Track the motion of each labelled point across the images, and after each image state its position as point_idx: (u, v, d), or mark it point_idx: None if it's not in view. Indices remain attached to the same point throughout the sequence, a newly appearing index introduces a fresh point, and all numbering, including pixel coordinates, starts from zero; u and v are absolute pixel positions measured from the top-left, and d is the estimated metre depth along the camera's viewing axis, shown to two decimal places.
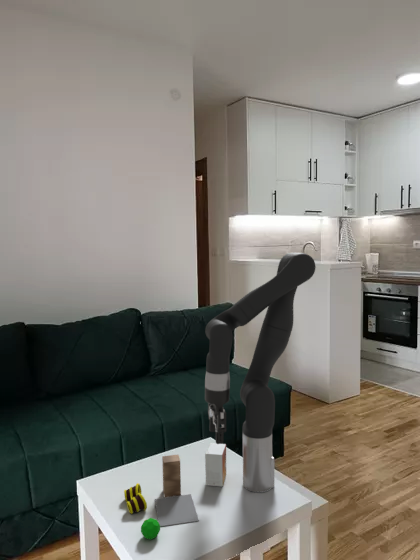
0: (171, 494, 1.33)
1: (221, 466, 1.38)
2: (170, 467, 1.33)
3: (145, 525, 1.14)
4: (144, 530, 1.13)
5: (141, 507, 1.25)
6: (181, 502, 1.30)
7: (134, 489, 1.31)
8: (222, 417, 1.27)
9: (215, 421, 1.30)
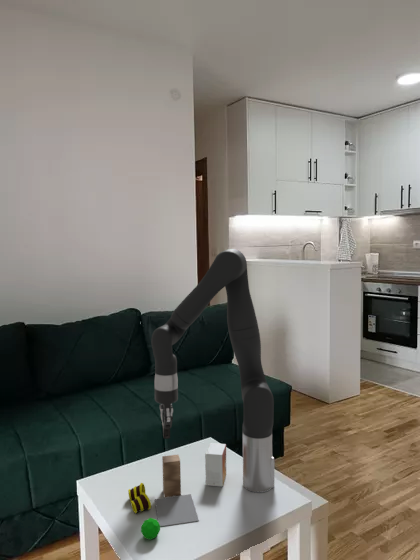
0: (171, 494, 1.33)
1: (221, 466, 1.38)
2: (170, 467, 1.33)
3: (145, 525, 1.14)
4: (144, 530, 1.13)
5: (145, 506, 1.26)
6: (181, 502, 1.30)
7: (138, 488, 1.31)
8: (168, 421, 1.38)
9: (163, 420, 1.41)
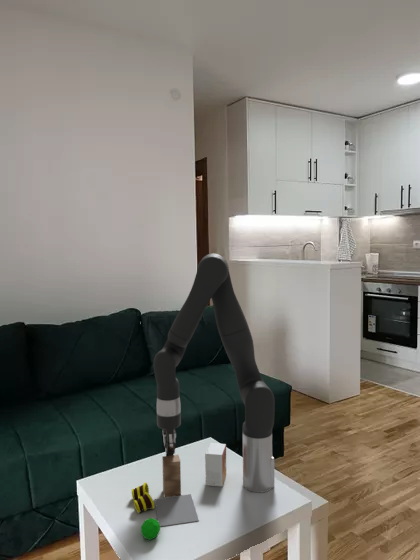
0: (171, 494, 1.33)
1: (221, 466, 1.38)
2: (170, 467, 1.32)
3: (145, 526, 1.14)
4: (144, 530, 1.13)
5: (148, 506, 1.26)
6: (181, 502, 1.30)
7: (141, 488, 1.31)
8: (171, 448, 1.33)
9: (166, 446, 1.37)
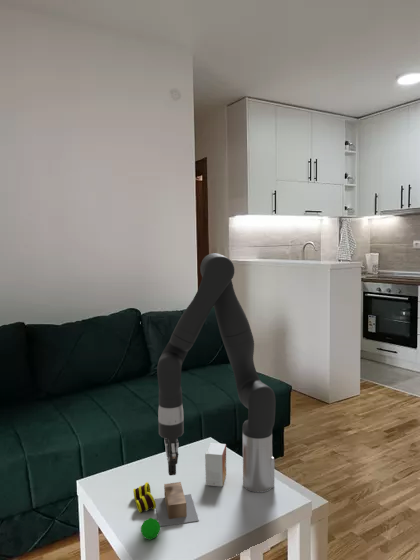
0: None
1: (221, 466, 1.38)
2: None
3: (145, 525, 1.14)
4: (144, 530, 1.13)
5: (150, 506, 1.26)
6: None
7: (143, 488, 1.31)
8: (174, 458, 1.27)
9: (168, 455, 1.31)
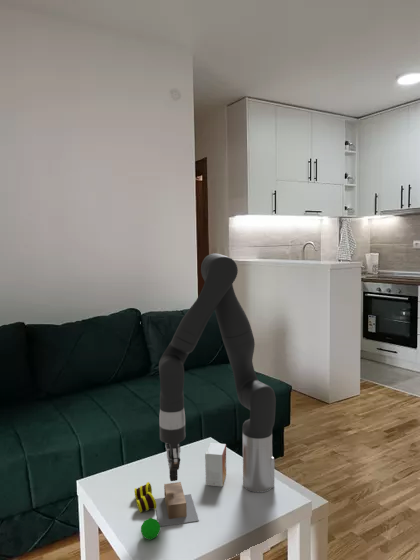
0: None
1: (221, 466, 1.38)
2: None
3: (145, 526, 1.14)
4: (144, 530, 1.13)
5: (150, 506, 1.26)
6: None
7: (144, 488, 1.31)
8: (175, 463, 1.24)
9: (169, 461, 1.28)
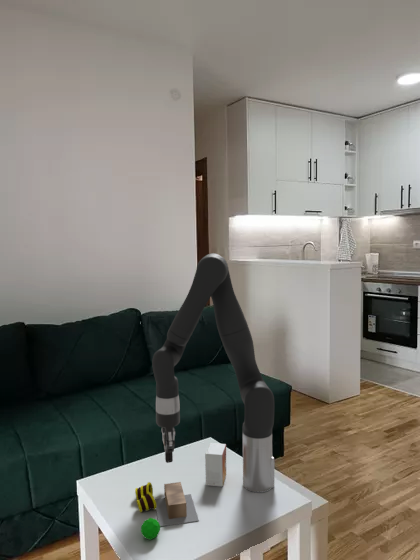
0: None
1: (221, 466, 1.38)
2: None
3: (145, 525, 1.14)
4: (144, 530, 1.13)
5: (150, 506, 1.26)
6: None
7: (145, 488, 1.31)
8: (170, 445, 1.34)
9: (165, 444, 1.38)
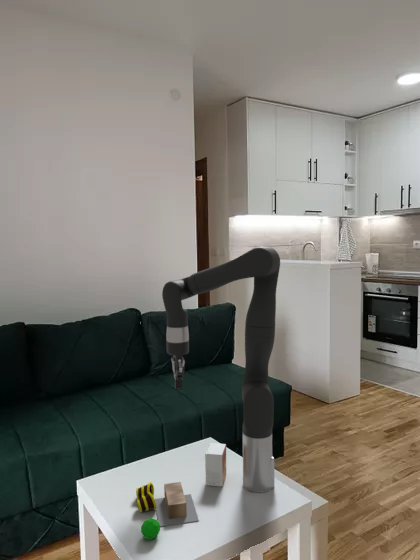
0: None
1: (221, 466, 1.38)
2: None
3: (145, 526, 1.14)
4: (144, 530, 1.13)
5: (150, 506, 1.26)
6: None
7: (146, 488, 1.31)
8: (180, 371, 1.43)
9: (175, 371, 1.47)
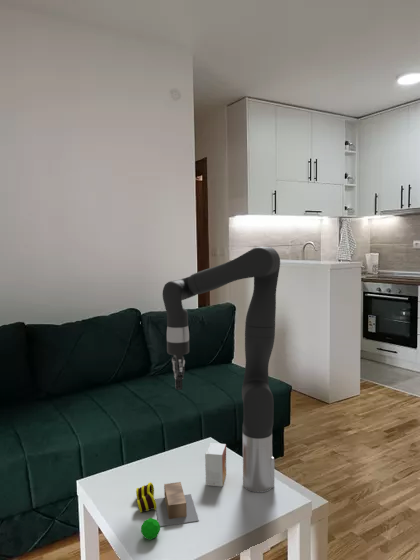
0: None
1: (221, 466, 1.38)
2: None
3: (145, 525, 1.14)
4: (144, 530, 1.13)
5: (150, 506, 1.25)
6: None
7: (146, 488, 1.31)
8: (181, 371, 1.44)
9: (175, 371, 1.47)
